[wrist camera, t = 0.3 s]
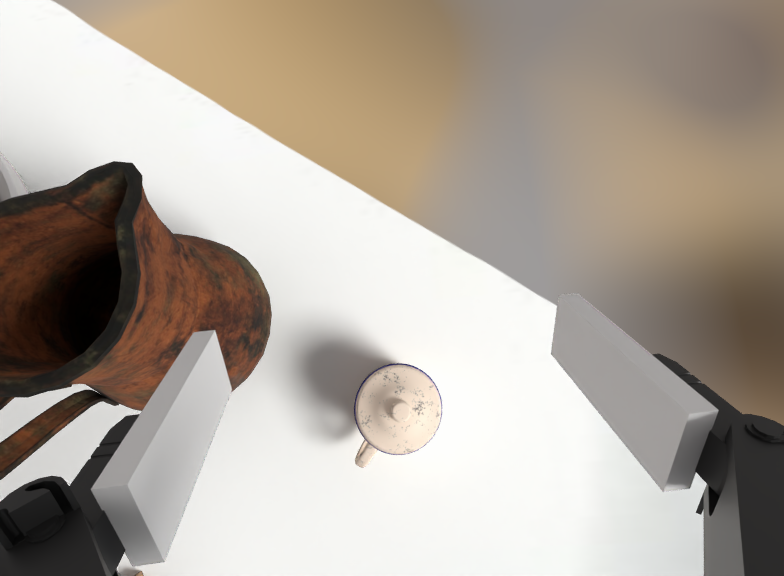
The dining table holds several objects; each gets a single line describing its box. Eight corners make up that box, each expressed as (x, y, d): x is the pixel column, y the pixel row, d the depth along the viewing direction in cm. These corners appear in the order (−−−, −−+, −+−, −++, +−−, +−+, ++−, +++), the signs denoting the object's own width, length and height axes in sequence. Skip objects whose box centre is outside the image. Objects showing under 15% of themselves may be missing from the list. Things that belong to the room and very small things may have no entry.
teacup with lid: (382, 348, 51) (387, 345, 40) (442, 389, 51) (465, 397, 39) (327, 432, 49) (316, 454, 37) (390, 475, 48) (398, 511, 37)
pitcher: (315, 302, 51) (252, 224, 22) (222, 460, 47) (-8, 623, 18) (202, 240, 52) (-9, 82, 22) (101, 391, 48) (-320, 441, 18)
